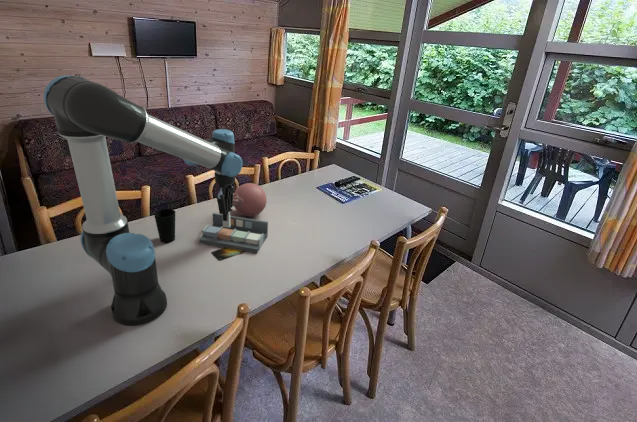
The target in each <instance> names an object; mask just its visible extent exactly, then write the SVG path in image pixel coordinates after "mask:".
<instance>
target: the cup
mask: <svg viewBox="0 0 637 422" xmlns="http://www.w3.org/2000/svg"><path fill="white" fill-rule="evenodd" d="M153 216H154V220H155V225H156V228H157V233H158V237H159V241H160V243H163V244H169V243H173V242H175V240H176V211H175V210H174V209H172V208H161V209H160V208H159V209H158V210H156V211H154V213H153Z"/></svg>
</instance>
